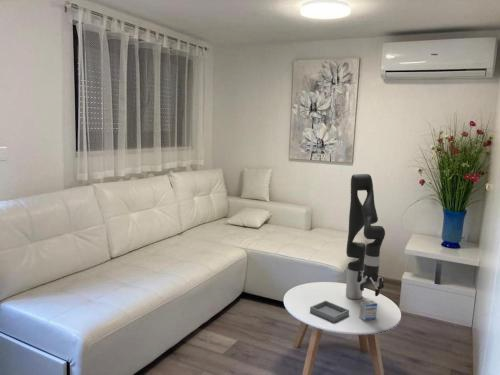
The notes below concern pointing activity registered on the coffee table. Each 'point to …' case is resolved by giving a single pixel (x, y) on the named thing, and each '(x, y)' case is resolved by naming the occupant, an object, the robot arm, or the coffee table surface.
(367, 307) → the medicine box
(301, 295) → the coffee table surface
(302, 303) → the coffee table surface
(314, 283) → the coffee table surface
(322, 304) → the tray
